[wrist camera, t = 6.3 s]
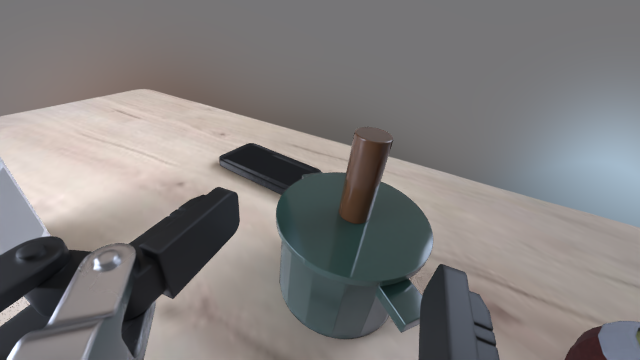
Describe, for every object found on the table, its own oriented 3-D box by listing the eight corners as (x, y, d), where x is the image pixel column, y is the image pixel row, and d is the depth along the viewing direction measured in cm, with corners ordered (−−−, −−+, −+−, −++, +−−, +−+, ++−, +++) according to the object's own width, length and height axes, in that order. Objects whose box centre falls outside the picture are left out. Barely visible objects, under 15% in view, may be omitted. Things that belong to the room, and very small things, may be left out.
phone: (296, 194, 34) (215, 157, 40) (295, 201, 35) (216, 163, 40) (324, 171, 40) (251, 141, 46) (323, 177, 41) (251, 147, 46)
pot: (345, 213, 34) (357, 161, 30) (441, 339, 22) (486, 282, 17) (260, 233, 29) (259, 174, 25) (321, 406, 17) (341, 351, 13)
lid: (370, 174, 29) (390, 102, 24) (463, 261, 20) (521, 170, 15) (258, 192, 24) (257, 105, 19) (312, 322, 14) (334, 211, 10)
